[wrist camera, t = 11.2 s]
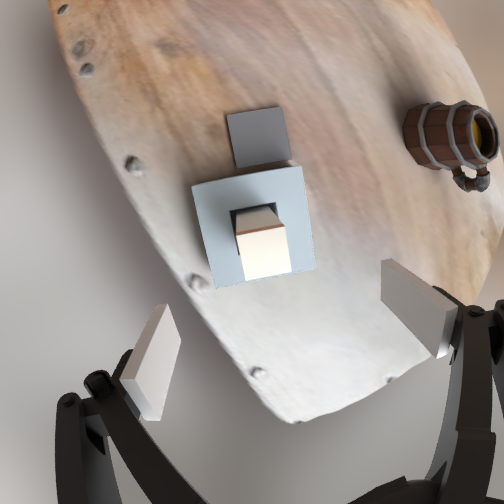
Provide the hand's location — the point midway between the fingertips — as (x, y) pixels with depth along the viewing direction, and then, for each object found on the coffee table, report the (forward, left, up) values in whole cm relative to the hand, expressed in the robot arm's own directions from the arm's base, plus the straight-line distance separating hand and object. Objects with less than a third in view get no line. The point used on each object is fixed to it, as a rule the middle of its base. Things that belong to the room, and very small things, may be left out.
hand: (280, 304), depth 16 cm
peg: (0, 0, -24) cm, 24 cm away
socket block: (0, 0, -26) cm, 26 cm away
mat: (-12, +3, -26) cm, 29 cm away
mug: (-8, +34, -27) cm, 44 cm away
